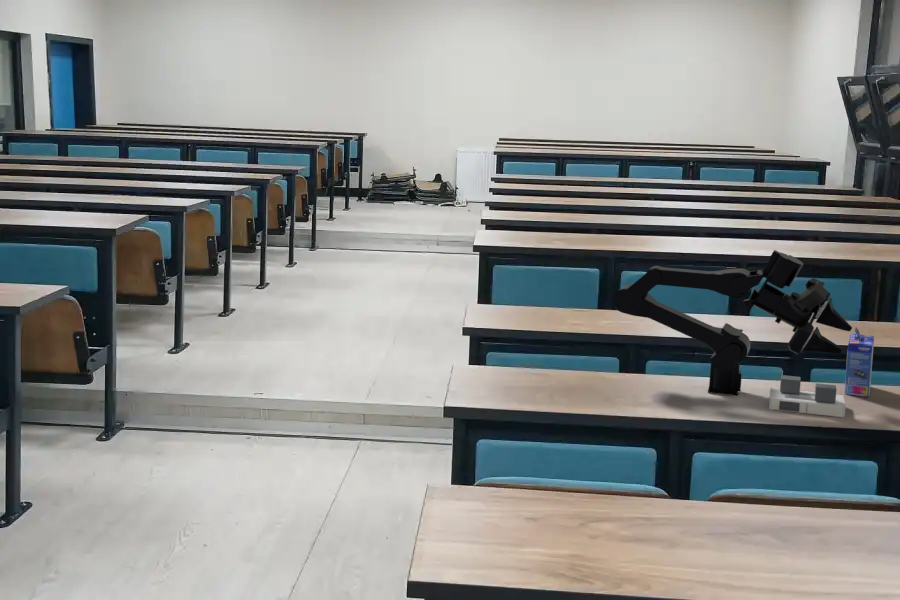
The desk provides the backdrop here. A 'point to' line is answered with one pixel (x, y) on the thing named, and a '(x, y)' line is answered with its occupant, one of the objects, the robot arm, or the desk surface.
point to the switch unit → (805, 403)
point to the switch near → (825, 393)
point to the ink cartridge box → (859, 364)
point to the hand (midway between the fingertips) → (846, 340)
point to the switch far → (790, 384)
